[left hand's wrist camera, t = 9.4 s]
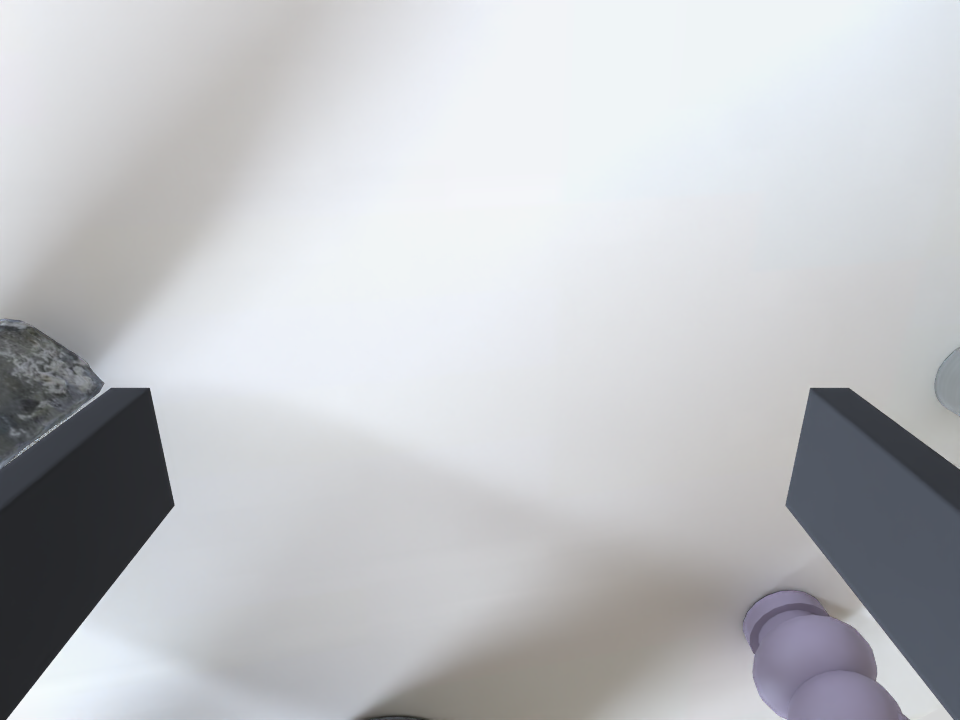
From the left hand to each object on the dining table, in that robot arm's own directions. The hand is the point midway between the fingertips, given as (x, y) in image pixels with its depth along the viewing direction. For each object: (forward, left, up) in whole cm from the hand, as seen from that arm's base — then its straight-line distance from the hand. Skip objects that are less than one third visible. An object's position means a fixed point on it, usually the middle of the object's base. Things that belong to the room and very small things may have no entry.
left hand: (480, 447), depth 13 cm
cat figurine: (-23, -32, -27) cm, 48 cm away
